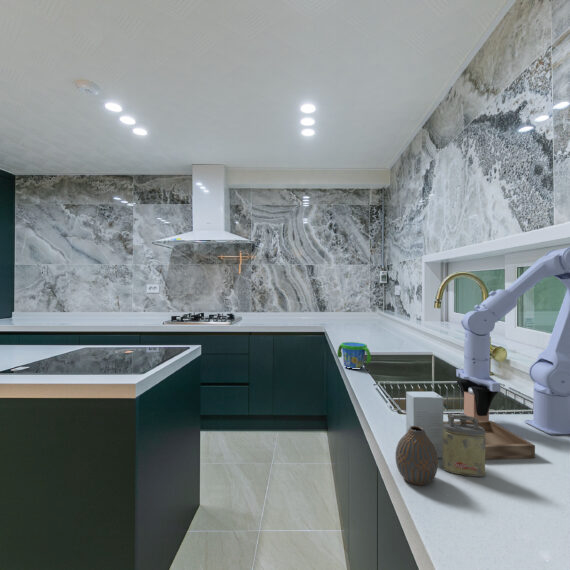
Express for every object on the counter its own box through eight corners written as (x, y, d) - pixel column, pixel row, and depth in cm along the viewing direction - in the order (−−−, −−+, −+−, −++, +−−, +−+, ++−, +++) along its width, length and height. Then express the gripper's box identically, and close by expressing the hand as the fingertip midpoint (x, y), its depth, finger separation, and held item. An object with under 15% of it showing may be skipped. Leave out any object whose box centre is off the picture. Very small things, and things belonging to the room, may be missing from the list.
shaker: (478, 418, 90) (478, 386, 90) (488, 424, 86) (489, 391, 86) (463, 418, 90) (464, 387, 90) (473, 424, 86) (474, 391, 86)
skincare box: (433, 448, 72) (434, 391, 72) (443, 458, 68) (444, 397, 68) (404, 448, 72) (405, 390, 72) (413, 458, 68) (413, 397, 68)
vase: (390, 468, 64) (391, 420, 64) (428, 469, 64) (429, 421, 64) (402, 489, 57) (402, 436, 57) (444, 491, 57) (445, 437, 57)
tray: (490, 431, 82) (490, 420, 82) (534, 458, 69) (535, 445, 69) (437, 432, 81) (437, 421, 81) (473, 459, 68) (473, 446, 68)
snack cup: (376, 370, 143) (376, 345, 143) (359, 373, 137) (359, 347, 137) (348, 363, 155) (348, 340, 156) (331, 366, 149) (331, 342, 149)
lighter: (482, 469, 64) (483, 415, 64) (488, 480, 61) (489, 422, 61) (440, 463, 66) (441, 410, 66) (444, 473, 63) (444, 417, 63)
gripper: (445, 352, 95) (445, 402, 95) (480, 364, 81) (479, 423, 80) (470, 353, 96) (469, 402, 96) (509, 364, 81) (508, 422, 81)
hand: (476, 412), depth 88 cm, fingers closed on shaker, 4 cm apart
